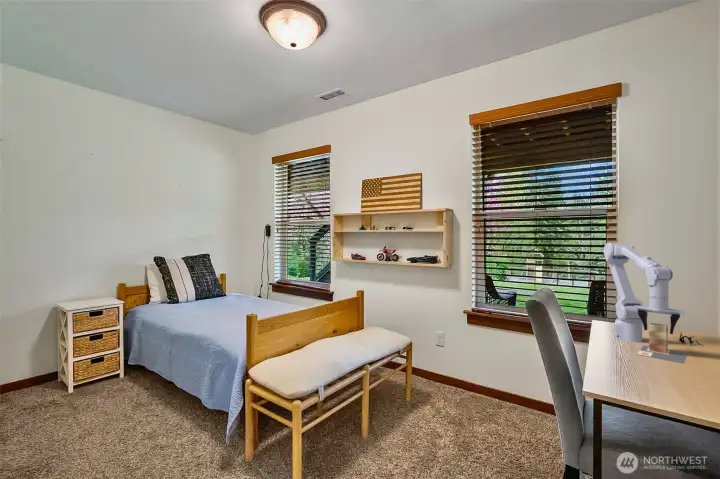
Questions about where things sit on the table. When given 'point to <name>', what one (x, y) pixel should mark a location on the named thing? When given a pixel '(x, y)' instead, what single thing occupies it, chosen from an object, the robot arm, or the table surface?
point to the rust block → (658, 345)
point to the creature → (688, 339)
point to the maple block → (658, 331)
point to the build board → (663, 355)
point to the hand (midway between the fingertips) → (658, 331)
